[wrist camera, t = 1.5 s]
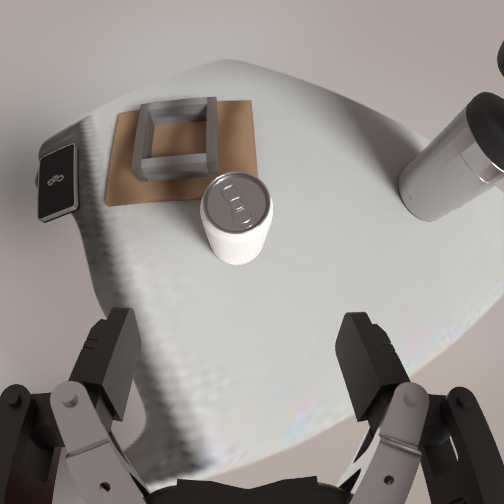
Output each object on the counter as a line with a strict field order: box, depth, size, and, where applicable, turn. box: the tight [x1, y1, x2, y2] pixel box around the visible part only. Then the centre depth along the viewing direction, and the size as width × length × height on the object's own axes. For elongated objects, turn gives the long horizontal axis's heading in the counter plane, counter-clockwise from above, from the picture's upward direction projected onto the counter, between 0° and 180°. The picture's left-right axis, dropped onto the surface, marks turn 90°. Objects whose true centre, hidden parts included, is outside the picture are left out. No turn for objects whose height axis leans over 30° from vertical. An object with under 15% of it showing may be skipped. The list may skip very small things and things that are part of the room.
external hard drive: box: [37, 143, 80, 223], centre depth 36 cm, size 7×11×2 cm, turn 15°
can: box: [200, 171, 273, 265], centre depth 30 cm, size 6×6×12 cm
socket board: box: [105, 97, 258, 207], centre depth 36 cm, size 20×15×5 cm
